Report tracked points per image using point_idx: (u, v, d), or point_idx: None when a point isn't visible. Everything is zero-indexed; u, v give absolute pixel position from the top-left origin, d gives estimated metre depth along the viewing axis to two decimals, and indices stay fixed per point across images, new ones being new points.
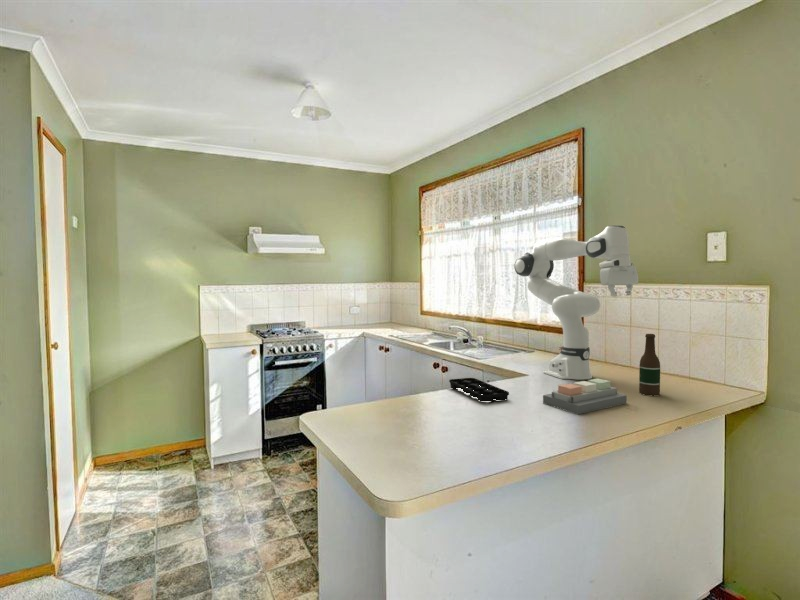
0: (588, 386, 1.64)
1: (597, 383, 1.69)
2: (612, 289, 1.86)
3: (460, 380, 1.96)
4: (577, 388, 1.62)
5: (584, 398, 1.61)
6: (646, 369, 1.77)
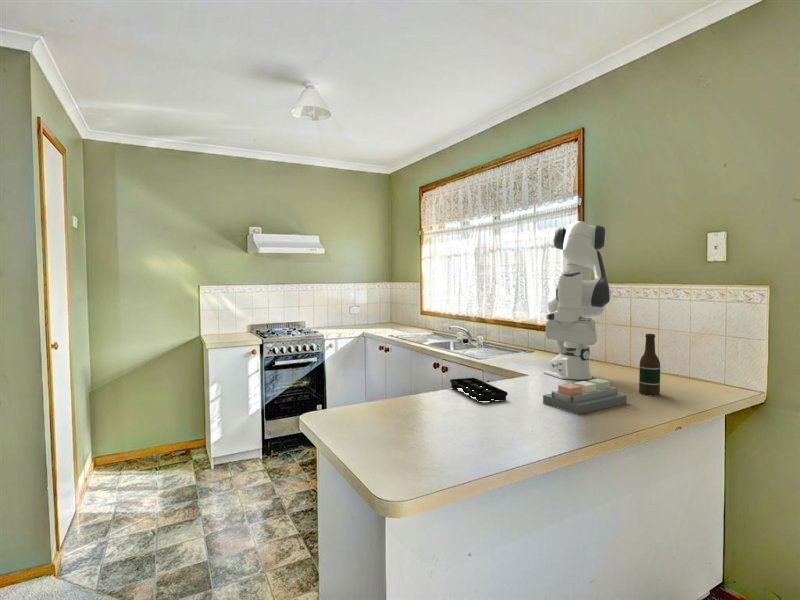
0: (588, 386, 1.64)
1: (597, 383, 1.69)
2: None
3: (461, 380, 1.96)
4: (577, 388, 1.62)
5: (584, 398, 1.61)
6: (646, 369, 1.77)
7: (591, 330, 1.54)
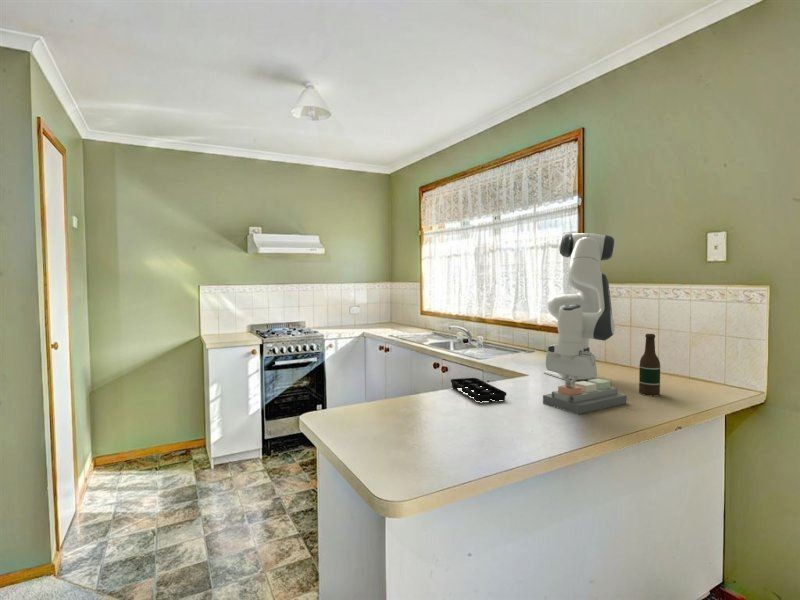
0: (588, 386, 1.64)
1: (597, 383, 1.69)
2: None
3: (462, 380, 1.96)
4: (577, 389, 1.62)
5: (584, 398, 1.61)
6: (646, 369, 1.77)
7: (591, 365, 1.54)
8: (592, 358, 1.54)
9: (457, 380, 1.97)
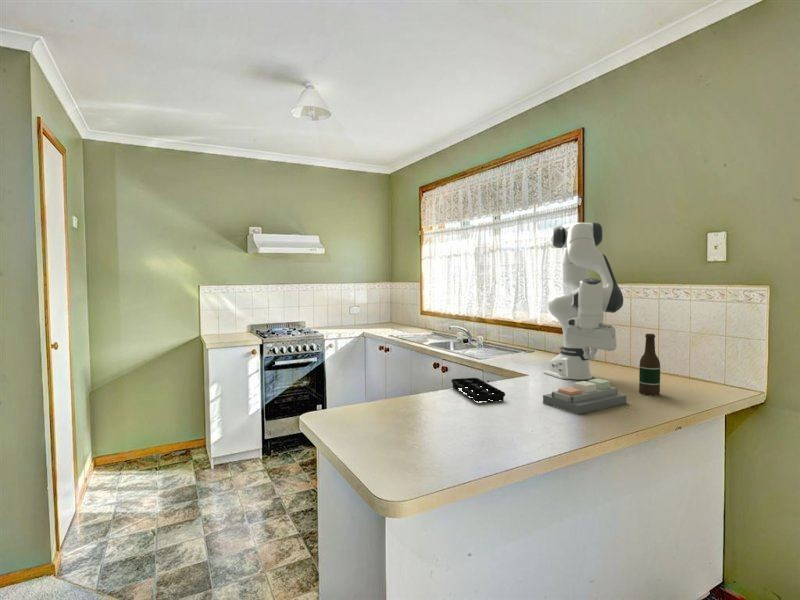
0: (588, 386, 1.64)
1: (597, 383, 1.69)
2: None
3: (463, 380, 1.96)
4: (577, 391, 1.62)
5: (584, 398, 1.61)
6: (646, 369, 1.77)
7: (611, 336, 1.60)
8: (612, 330, 1.60)
9: (458, 380, 1.97)
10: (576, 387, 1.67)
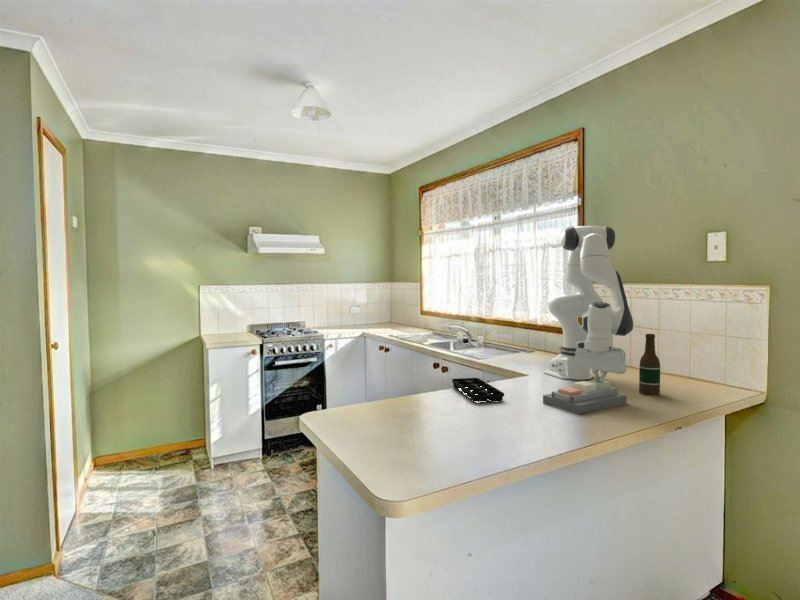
0: (588, 386, 1.64)
1: (597, 384, 1.69)
2: None
3: (463, 380, 1.96)
4: (577, 391, 1.62)
5: (584, 398, 1.61)
6: (646, 369, 1.77)
7: (621, 360, 1.62)
8: (622, 354, 1.62)
9: (459, 380, 1.97)
10: (576, 387, 1.67)
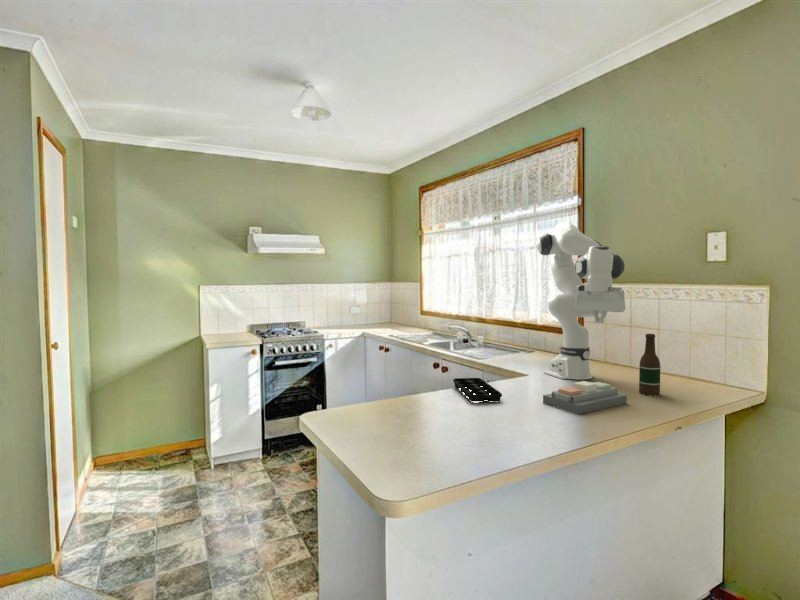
0: (588, 386, 1.64)
1: (597, 386, 1.69)
2: None
3: (465, 380, 1.96)
4: (577, 391, 1.62)
5: (584, 398, 1.61)
6: (646, 369, 1.77)
7: (620, 298, 1.67)
8: (621, 292, 1.67)
9: (460, 380, 1.97)
10: (576, 387, 1.67)
